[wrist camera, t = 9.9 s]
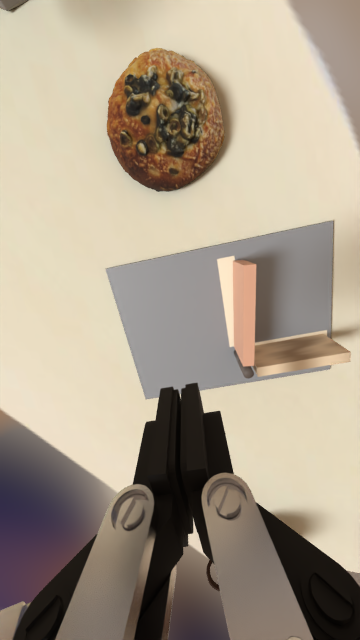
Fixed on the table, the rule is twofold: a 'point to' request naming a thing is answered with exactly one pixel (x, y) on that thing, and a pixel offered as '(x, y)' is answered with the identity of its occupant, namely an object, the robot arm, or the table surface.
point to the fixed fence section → (295, 355)
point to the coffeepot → (11, 4)
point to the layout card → (222, 306)
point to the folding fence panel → (244, 310)
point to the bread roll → (164, 120)
